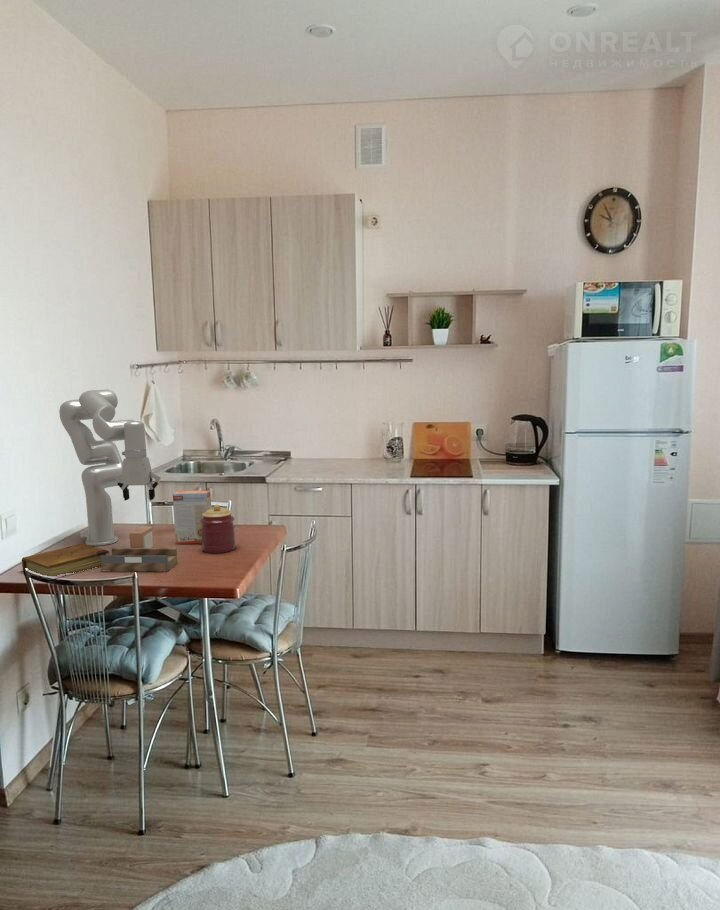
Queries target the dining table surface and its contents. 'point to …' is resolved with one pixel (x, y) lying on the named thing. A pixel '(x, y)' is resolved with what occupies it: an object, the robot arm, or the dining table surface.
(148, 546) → the carton
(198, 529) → the cracker box
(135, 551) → the wooden storage tray
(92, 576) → the dining table surface
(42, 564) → the diary
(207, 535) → the canister
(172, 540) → the dining table surface
